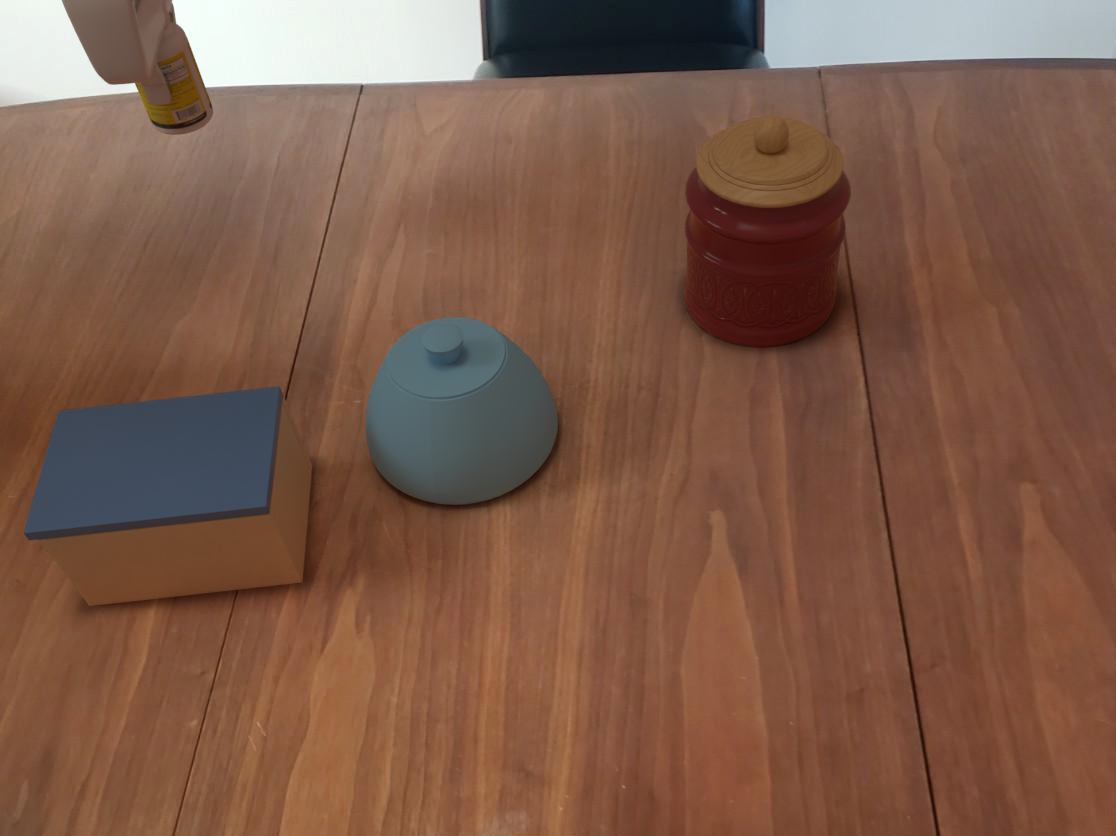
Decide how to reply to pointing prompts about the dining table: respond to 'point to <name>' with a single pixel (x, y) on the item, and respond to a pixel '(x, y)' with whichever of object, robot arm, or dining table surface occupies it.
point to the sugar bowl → (459, 413)
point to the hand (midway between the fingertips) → (168, 79)
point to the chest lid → (158, 463)
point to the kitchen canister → (765, 231)
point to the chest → (200, 544)
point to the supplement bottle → (179, 85)
